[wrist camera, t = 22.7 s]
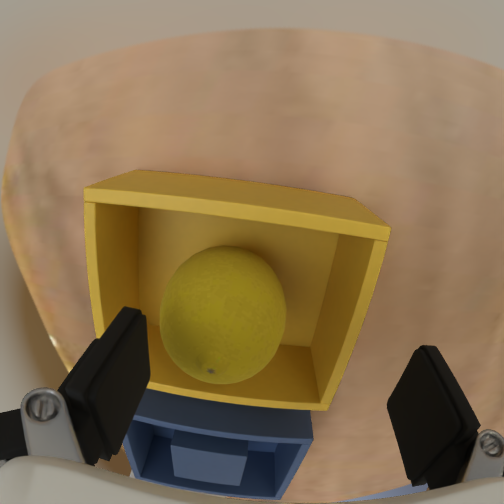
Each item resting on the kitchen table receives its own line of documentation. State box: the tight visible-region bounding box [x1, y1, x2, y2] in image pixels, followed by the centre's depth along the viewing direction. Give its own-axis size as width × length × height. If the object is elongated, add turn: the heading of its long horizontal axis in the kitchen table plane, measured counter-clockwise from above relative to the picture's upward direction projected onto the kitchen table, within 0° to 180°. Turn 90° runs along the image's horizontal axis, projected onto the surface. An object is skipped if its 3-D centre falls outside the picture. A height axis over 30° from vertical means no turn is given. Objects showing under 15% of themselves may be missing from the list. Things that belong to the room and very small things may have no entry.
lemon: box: [160, 245, 286, 384], centre depth 14 cm, size 6×6×8 cm
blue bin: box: [123, 388, 314, 500], centre depth 20 cm, size 10×12×6 cm
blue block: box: [171, 429, 248, 486], centre depth 20 cm, size 5×5×5 cm
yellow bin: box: [84, 170, 391, 411], centre depth 15 cm, size 10×12×6 cm
